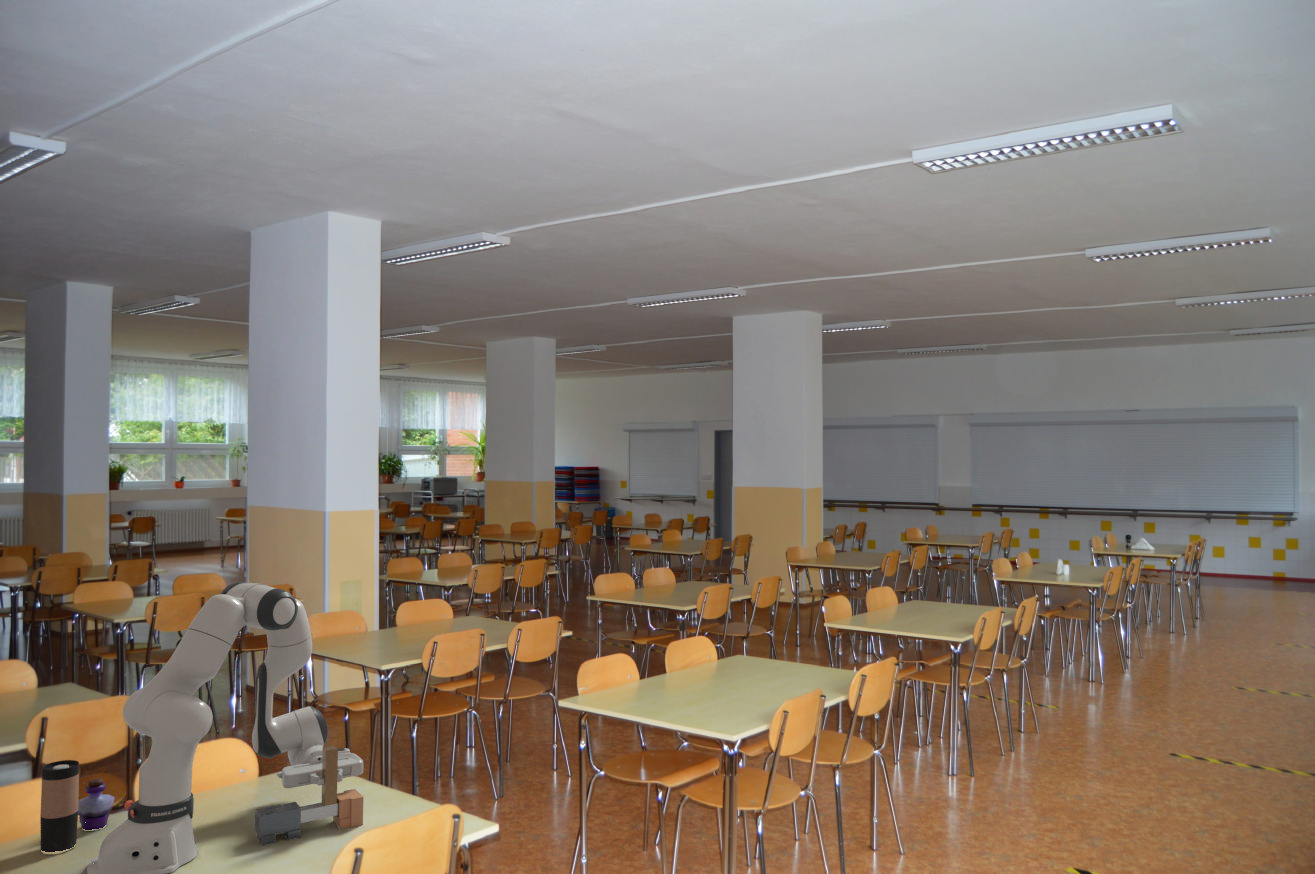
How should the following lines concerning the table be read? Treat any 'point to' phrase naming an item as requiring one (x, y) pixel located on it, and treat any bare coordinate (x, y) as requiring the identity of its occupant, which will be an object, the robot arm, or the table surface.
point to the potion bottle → (95, 806)
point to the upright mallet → (325, 789)
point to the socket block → (349, 809)
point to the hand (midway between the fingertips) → (330, 780)
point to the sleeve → (278, 822)
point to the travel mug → (59, 805)
